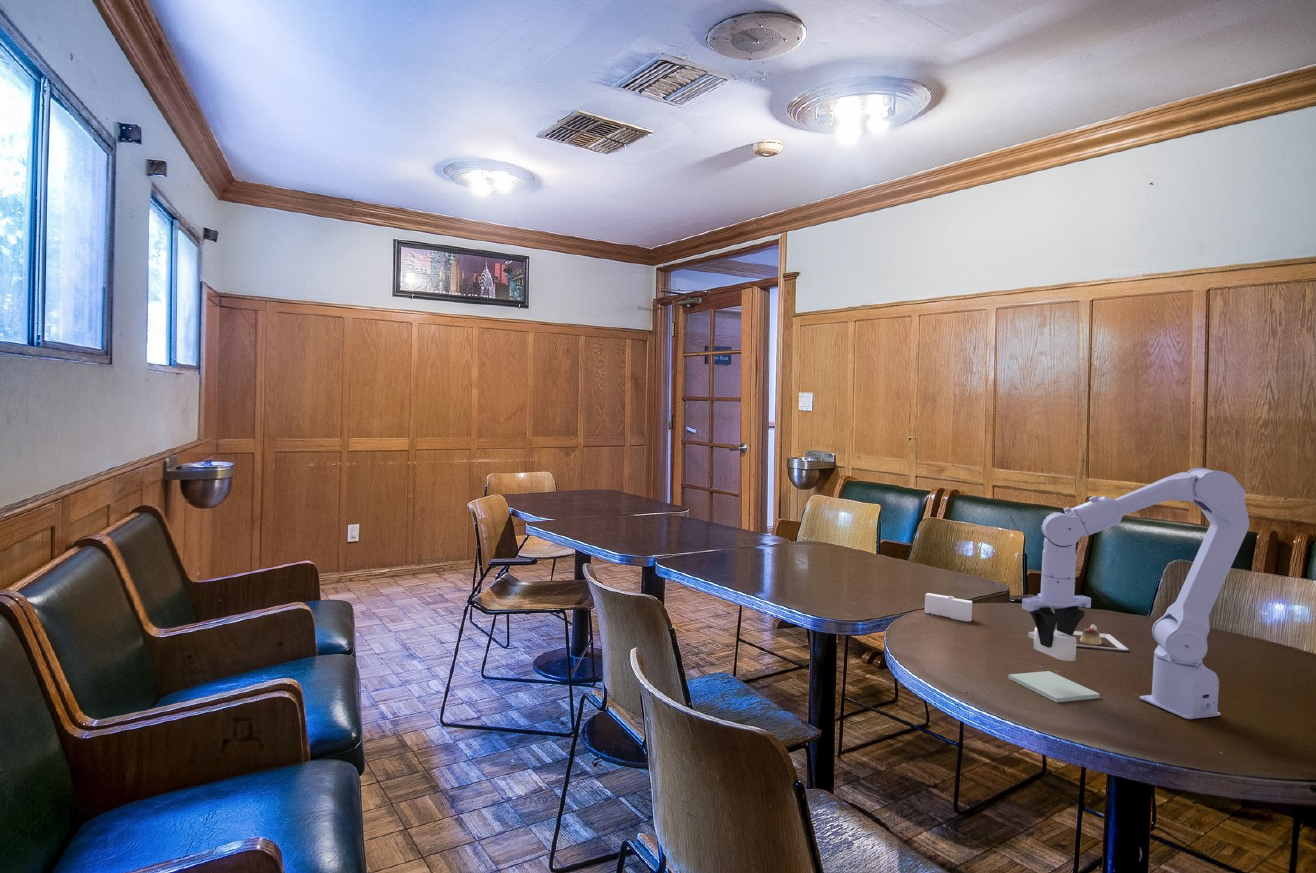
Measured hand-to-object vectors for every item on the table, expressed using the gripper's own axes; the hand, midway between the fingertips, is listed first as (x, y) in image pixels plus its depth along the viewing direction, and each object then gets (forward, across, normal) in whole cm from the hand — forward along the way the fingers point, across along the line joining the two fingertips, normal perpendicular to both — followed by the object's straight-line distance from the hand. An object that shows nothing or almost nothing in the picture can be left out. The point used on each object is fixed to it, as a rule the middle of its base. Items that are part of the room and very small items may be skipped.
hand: (1054, 645), depth 140 cm
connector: (+2, 0, 0) cm, 2 cm away
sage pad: (+8, 0, 0) cm, 8 cm away
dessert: (+9, -33, -22) cm, 41 cm away
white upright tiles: (+9, -12, -46) cm, 49 cm away
